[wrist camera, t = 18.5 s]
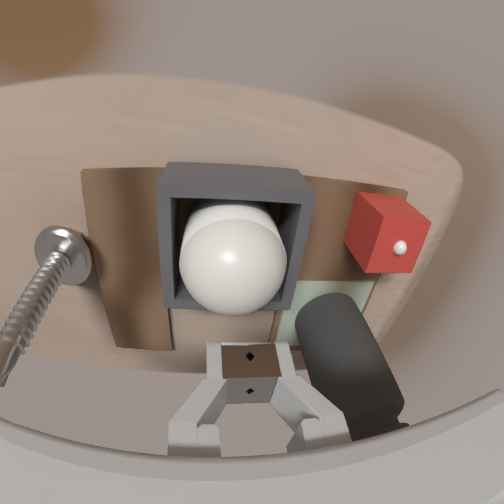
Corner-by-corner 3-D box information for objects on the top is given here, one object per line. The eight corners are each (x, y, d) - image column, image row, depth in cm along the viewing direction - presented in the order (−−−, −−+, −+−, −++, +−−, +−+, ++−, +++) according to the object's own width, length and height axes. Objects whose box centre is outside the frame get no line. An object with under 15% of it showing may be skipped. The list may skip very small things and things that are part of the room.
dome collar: (170, 270, 21) (164, 307, 18) (168, 162, 17) (156, 183, 14) (278, 273, 22) (289, 309, 19) (297, 169, 18) (316, 192, 15)
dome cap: (185, 265, 20) (178, 336, 14) (185, 186, 17) (171, 241, 12) (267, 267, 21) (285, 337, 15) (279, 191, 18) (308, 246, 12)
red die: (343, 241, 21) (368, 277, 18) (356, 191, 19) (388, 220, 16) (386, 243, 22) (414, 277, 18) (401, 197, 20) (435, 225, 16)
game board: (117, 343, 25) (116, 348, 25) (83, 169, 17) (79, 172, 16) (346, 342, 29) (348, 347, 28) (404, 189, 20) (409, 193, 20)
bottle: (363, 318, 26) (428, 458, 14) (309, 347, 27) (353, 491, 15) (344, 280, 23) (427, 448, 11) (282, 314, 24) (328, 490, 12)
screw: (88, 209, 18) (107, 265, 21) (38, 219, 18) (59, 271, 21) (-7, 356, 7) (52, 418, 10) (-58, 347, 7) (-6, 405, 10)
